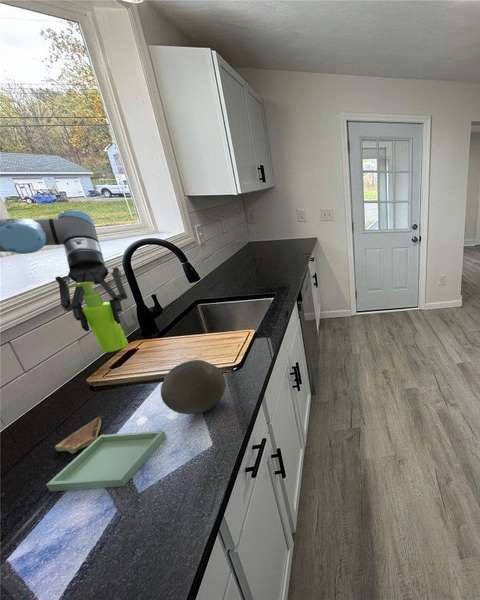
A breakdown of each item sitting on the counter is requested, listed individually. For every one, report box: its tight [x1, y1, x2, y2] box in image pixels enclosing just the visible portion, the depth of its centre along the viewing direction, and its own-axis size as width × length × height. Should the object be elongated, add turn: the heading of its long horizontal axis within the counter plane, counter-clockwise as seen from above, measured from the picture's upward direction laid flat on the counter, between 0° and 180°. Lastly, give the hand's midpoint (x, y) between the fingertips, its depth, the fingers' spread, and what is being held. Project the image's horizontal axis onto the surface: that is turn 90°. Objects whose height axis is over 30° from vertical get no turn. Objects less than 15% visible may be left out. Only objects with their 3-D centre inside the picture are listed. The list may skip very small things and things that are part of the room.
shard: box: [54, 414, 102, 455], centre depth 80 cm, size 11×8×2 cm
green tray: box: [45, 430, 167, 492], centre depth 72 cm, size 16×14×2 cm
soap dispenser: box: [68, 282, 129, 353], centre depth 87 cm, size 6×7×20 cm
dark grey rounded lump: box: [160, 359, 227, 415], centre depth 85 cm, size 14×14×15 cm
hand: (102, 325), depth 86 cm, fingers closed on soap dispenser, 6 cm apart
